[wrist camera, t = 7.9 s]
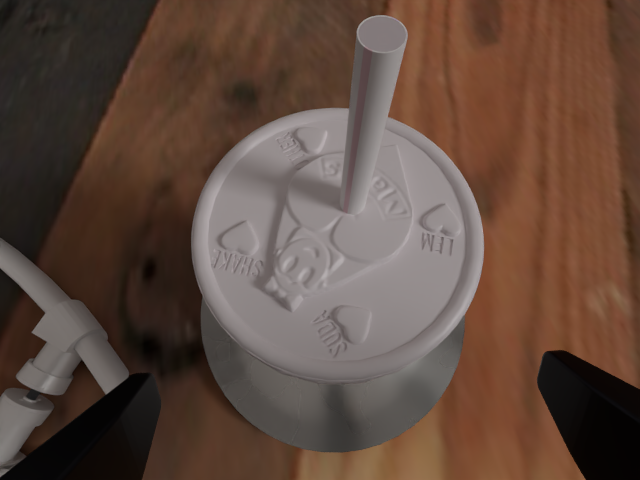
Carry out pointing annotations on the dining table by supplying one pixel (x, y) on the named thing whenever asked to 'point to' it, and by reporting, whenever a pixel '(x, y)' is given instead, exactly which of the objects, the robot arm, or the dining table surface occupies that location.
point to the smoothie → (339, 233)
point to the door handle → (50, 355)
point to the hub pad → (328, 395)
